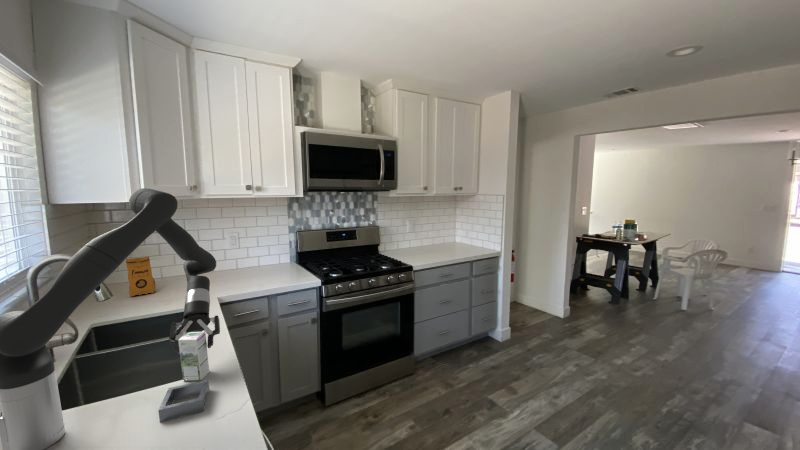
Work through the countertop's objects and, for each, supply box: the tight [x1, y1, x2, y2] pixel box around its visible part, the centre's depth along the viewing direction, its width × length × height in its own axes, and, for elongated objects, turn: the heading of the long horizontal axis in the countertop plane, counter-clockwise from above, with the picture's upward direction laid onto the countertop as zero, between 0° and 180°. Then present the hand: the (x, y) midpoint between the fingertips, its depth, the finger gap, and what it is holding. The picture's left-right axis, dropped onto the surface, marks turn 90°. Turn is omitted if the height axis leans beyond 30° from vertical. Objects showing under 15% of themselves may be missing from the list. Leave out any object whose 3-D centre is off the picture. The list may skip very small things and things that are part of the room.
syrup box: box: [178, 331, 210, 382], centre depth 106 cm, size 6×6×14 cm
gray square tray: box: [157, 379, 211, 423], centre depth 92 cm, size 10×10×4 cm
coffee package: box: [125, 256, 157, 297], centre depth 188 cm, size 10×12×22 cm
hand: (194, 350), depth 105 cm, fingers open, 8 cm apart
